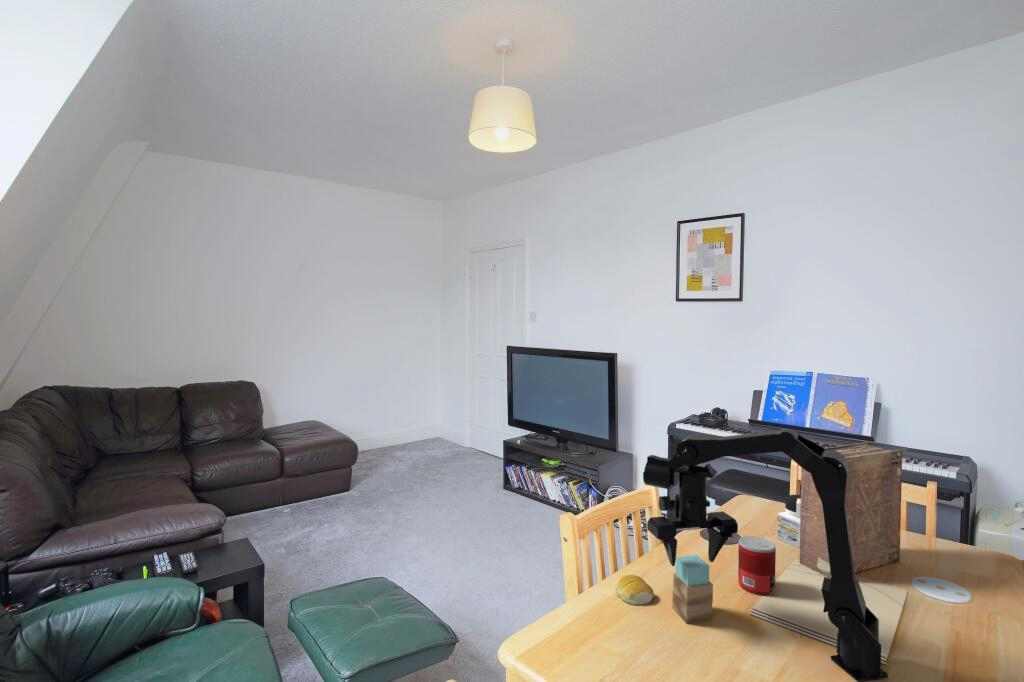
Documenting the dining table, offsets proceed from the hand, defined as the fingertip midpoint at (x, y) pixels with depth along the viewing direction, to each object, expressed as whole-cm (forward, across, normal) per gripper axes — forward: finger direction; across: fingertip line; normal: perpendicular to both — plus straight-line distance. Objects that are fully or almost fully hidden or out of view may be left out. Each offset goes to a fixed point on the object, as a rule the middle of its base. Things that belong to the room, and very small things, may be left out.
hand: (691, 563), depth 112 cm
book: (+12, -53, -13) cm, 56 cm away
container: (+12, -49, -27) cm, 57 cm away
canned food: (+12, -21, -7) cm, 25 cm away
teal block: (+4, 0, 0) cm, 4 cm away
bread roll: (+12, +9, -10) cm, 18 cm away
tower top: (+8, 0, 0) cm, 8 cm away
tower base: (+12, 0, 0) cm, 12 cm away
